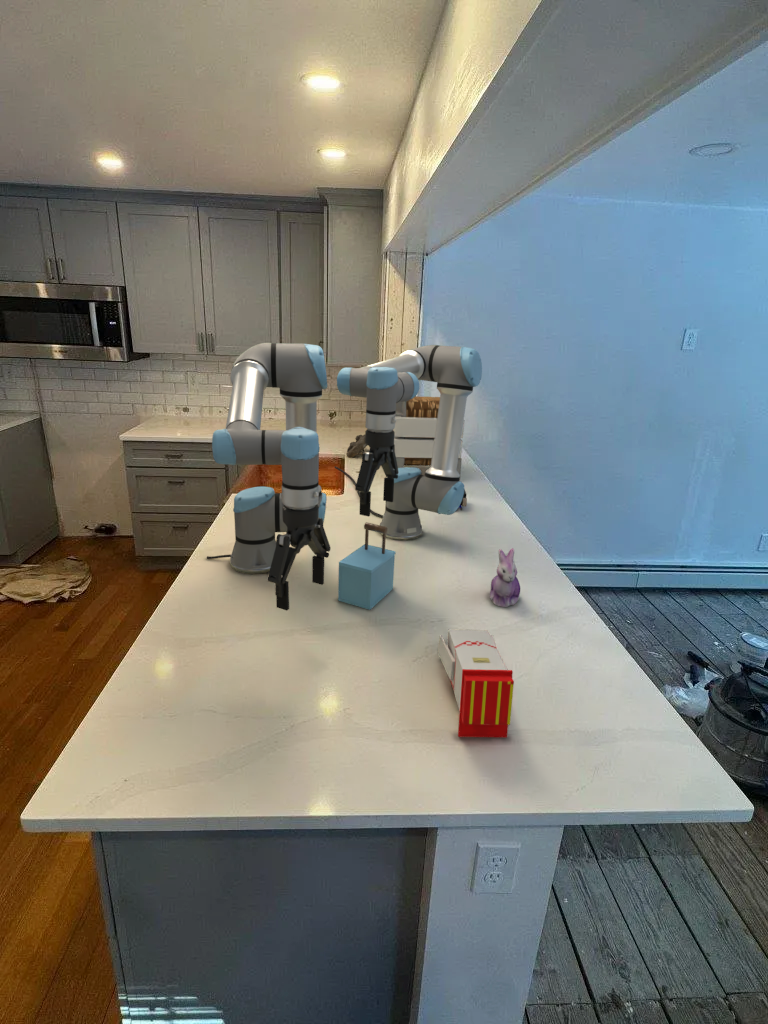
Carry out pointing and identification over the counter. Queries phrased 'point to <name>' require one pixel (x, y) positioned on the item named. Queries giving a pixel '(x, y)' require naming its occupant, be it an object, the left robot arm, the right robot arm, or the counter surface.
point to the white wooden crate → (417, 432)
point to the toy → (478, 682)
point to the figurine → (505, 581)
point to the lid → (369, 552)
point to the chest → (365, 585)
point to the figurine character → (463, 501)
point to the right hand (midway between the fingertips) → (376, 508)
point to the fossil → (357, 446)
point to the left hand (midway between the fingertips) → (301, 595)
